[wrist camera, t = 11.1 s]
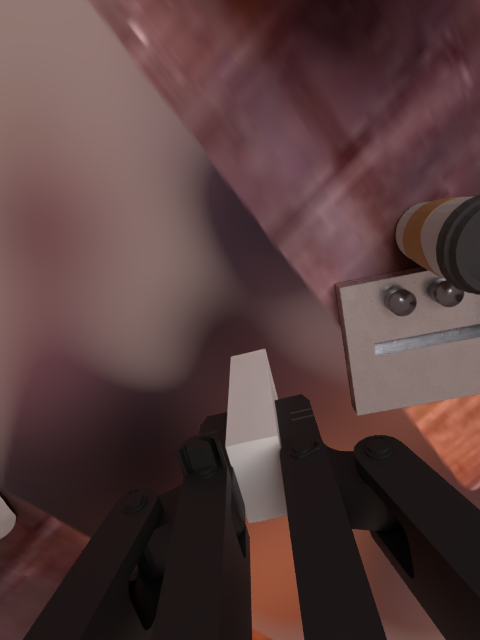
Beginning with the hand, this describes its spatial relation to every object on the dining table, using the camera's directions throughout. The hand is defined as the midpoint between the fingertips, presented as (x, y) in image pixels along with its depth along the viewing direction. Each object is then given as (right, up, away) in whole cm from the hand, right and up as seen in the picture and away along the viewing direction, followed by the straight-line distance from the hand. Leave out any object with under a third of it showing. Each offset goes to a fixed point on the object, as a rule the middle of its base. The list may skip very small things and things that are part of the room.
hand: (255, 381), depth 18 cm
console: (+26, +2, +32) cm, 41 cm away
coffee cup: (+20, +13, +29) cm, 37 cm away
